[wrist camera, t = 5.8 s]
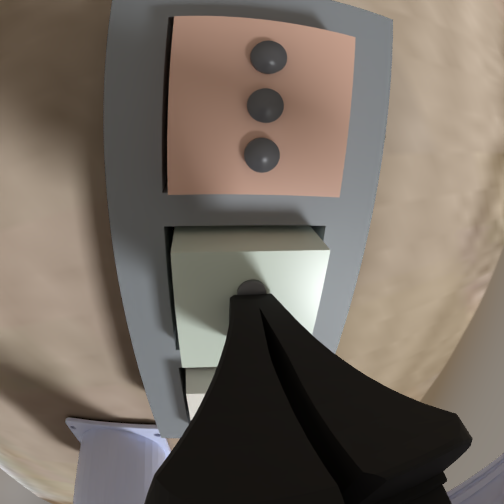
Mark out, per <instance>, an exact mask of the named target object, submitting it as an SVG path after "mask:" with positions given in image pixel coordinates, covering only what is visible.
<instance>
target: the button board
mask: <svg viewBox="0 0 504 504" xmlns="http://www.w3.org/2000/svg"><path fill="white" fill-rule="evenodd" d="M174 16H225V17H242V18H253V19H263V20H271V21H279V22H286V23H292V24H298V25H304V26H309V27H314V28H319V29H324V30H328V31H333V32H337V33H341V34H345V35H349V36H353V37H356V38H355V59H354V74H353V87H352V99H351V110H350V120H349V129H348V138H347V147H346V155H345V162H344V170H343V177H342V184H341V191H340V197H319V196H293V195H249V194H193V195H168V178H167V130H168V95H169V75H170V59H171V46H172V34H173V24H174ZM392 43H393V20H392V19H389V18H387V17H384V16H381V15H378V14H376V13H373V12H370V11H367V10H363V9H360V8H357V7H354V6H350V5H347V4H343V3H340V2H336V1H332V0H112V6H111V13H110V20H109V29H108V38H107V48H106V61H105V77H104V158H105V176H106V189H107V201H108V211H109V220H110V228H111V236H112V243H113V250H114V257H115V263H116V269H117V275H118V281H119V286H120V291H121V297H122V302H123V306H124V311H125V316H126V320H127V325H128V329H129V333H130V337H131V341H132V345H133V349H134V353H135V357H136V361H137V364H138V368H139V371H140V375H141V378H142V382H143V385H144V388H145V392H146V395H147V398H148V401H149V404H150V407H151V410H152V413H153V416H154V419H155V422H156V425H157V427H158V430H159V433H160V436H161V438H181V437H182V435H183V433H184V432H185V430H186V428H187V427H188V425H189V423H190V422H191V420H190V414H189V408H188V402H187V396H186V373H185V368H182V362H181V355H180V347H179V339H178V330H177V322H176V312H175V302H174V291H173V280H172V267H171V247H172V241H173V227H172V226H226V225H309V226H311V228H312V229H313V230H314V231H315V232H316V233H317V235H318V236H319V237H320V238H321V239H322V241H323V242H324V243H325V244H326V245H327V247H328V248H329V249H330V255H329V260H328V265H327V270H326V275H325V280H324V285H323V290H322V294H321V299H320V303H319V308H318V312H317V317H316V321H315V325H314V329H313V333H312V335H313V336H314V337H315V338H316V339H317V340H318V341H320V342H321V343H322V344H323V345H324V346H326V347H327V348H328V349H329V350H330V351H332V352H333V353H334V354H335V353H336V350H337V347H338V344H339V340H340V337H341V334H342V331H343V328H344V324H345V321H346V318H347V314H348V311H349V307H350V304H351V300H352V297H353V293H354V289H355V286H356V282H357V278H358V274H359V270H360V266H361V262H362V258H363V254H364V250H365V245H366V241H367V236H368V232H369V227H370V222H371V218H372V213H373V208H374V202H375V197H376V192H377V186H378V180H379V174H380V168H381V161H382V155H383V148H384V140H385V132H386V124H387V115H388V105H389V94H390V82H391V66H392Z"/></svg>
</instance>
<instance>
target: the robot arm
mask: <svg viewBox="0 0 504 504" xmlns="http://www.w3.org/2000/svg"><path fill="white" fill-rule="evenodd" d="M65 423H66V424H67V426H68V427H69V428H70V430H71V431H72V433H73V434H74V435H75V437H76V438H77V439H78V441H79V442H80V443H81V446H80V452H79V459H78V465H77V473H76V480H75V489H74V498H73V504H504V453H503V454H502V455H500V456H499V457H498V458H497V459H495V460H494V461H493V462H491V463H490V464H489V465H487V466H486V467H485V468H483V469H482V470H480V471H479V472H478V473H476V474H475V475H473V476H472V477H470V478H469V479H467V480H466V481H464V482H463V483H461V484H460V485H458V486H456V487H455V488H453V489H451V490H450V491H448V492H446V491H445V489H444V487H443V485H442V484H444V483H445V482H447V478H446V476H445V474H444V472H443V471H444V470H445V469H446V468H448V467H449V466H450V465H451V464H452V463H453V462H455V461H456V460H457V459H458V458H459V457H460V456H461V455H462V454H463V453H464V452H465V451H466V450H467V449H468V448H469V447H470V446H471V442H472V437H471V436H470V434H469V432H468V431H467V429H466V428H465V426H464V425H463V423H462V421H461V420H460V418H459V417H458V415H457V414H455V413H452V412H448V411H445V410H442V409H439V408H436V407H433V406H429V405H427V404H424V403H421V402H419V401H416V400H414V399H412V398H409V397H407V396H404V395H402V394H400V393H398V392H396V391H394V390H392V389H390V388H388V387H386V386H384V385H382V384H380V383H379V382H377V381H375V380H373V379H371V378H370V377H368V376H366V375H365V374H363V373H361V372H360V371H358V370H357V369H355V368H354V367H352V366H351V365H349V364H348V363H347V362H345V361H344V360H342V359H341V358H340V357H338V356H337V355H336V354H334V353H333V352H332V351H330V350H329V349H328V348H327V347H326V346H324V345H323V344H322V343H321V342H320V341H318V340H317V339H316V338H315V337H314V336H313V335H312V334H311V333H310V332H309V331H308V330H307V329H306V328H304V327H303V326H302V325H301V324H300V323H299V322H298V321H297V320H296V319H295V318H294V317H293V316H292V315H291V313H290V312H289V311H288V310H287V309H286V308H285V307H284V306H283V305H282V304H281V303H280V302H279V301H278V300H277V299H276V298H275V297H274V296H273V295H272V294H271V293H270V294H254V295H233V296H232V297H230V303H229V327H228V332H227V337H226V341H225V344H224V347H223V351H222V354H221V357H220V360H219V363H218V366H217V368H216V371H215V374H214V376H213V378H212V381H211V383H210V385H209V388H208V390H207V392H206V394H205V396H204V398H203V400H202V402H201V404H200V406H199V408H198V410H197V412H196V413H195V415H194V417H193V419H192V420H191V422H190V423H189V425H188V427H187V428H186V430H185V432H184V433H183V435H182V437H181V438H180V440H179V441H178V443H177V444H176V446H175V447H174V449H173V450H172V451H171V450H170V447H169V445H168V442H167V439H166V438H161V436H160V433H159V430H158V427H157V425H146V424H127V423H114V422H103V421H93V420H85V419H77V418H70V417H68V418H66V421H65Z"/></svg>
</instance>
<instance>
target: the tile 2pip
mask: <svg viewBox="0 0 504 504" xmlns="http://www.w3.org/2000/svg"><path fill="white" fill-rule="evenodd" d="M329 255H330V249H329V248H328V247H327V245H326V244H325V243H324V242H323V241H322V239H321V238H320V237H319V236H318V235H317V233H316V232H315V231H314V230H313V229H312V228H311V226H309V225H226V226H175V229H174V235H173V241H172V247H171V267H172V280H173V291H174V302H175V312H176V322H177V330H178V339H179V347H180V355H181V362H182V368H194V367H217V366H218V363H219V360H220V357H221V354H222V351H223V347H224V344H225V341H226V337H227V332H228V327H229V303H230V297H232V296H233V295H254V294H270V293H271V294H272V295H273V296H274V297H275V298H276V299H277V300H278V301H279V302H280V303H281V304H282V305H283V306H284V307H285V308H286V309H287V310H288V311H289V312H290V313H291V315H292V316H293V317H294V318H295V319H296V320H297V321H298V322H299V323H300V324H301V325H302V326H303V327H304V328H306V329H307V330H308V331H309V332H310V333H311V334H312V333H313V329H314V325H315V321H316V317H317V312H318V308H319V303H320V299H321V294H322V290H323V285H324V280H325V275H326V270H327V265H328V260H329Z"/></svg>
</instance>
